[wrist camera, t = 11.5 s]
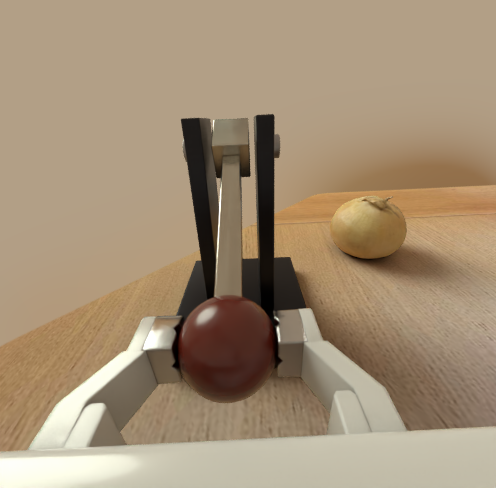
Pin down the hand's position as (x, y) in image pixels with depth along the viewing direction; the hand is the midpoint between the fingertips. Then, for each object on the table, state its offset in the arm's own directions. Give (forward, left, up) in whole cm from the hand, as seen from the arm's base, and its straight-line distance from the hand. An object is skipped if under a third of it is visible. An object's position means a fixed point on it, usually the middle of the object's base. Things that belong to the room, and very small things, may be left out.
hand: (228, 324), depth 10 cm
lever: (+2, +4, +1) cm, 5 cm away
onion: (+21, +10, -7) cm, 25 cm away
